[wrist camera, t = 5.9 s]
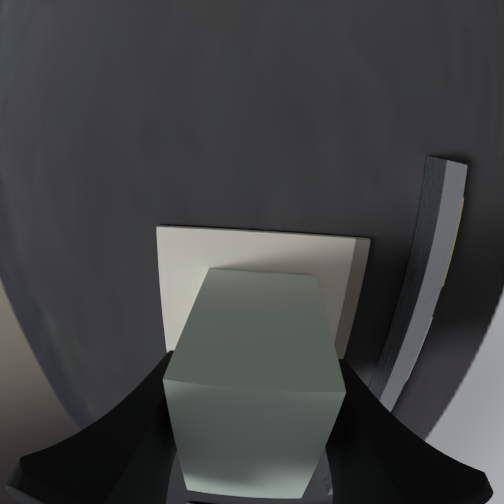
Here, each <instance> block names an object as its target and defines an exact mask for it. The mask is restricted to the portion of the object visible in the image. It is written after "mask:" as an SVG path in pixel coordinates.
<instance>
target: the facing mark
mask: <svg viewBox="0 0 504 504" xmlns="http://www.w3.org/2000/svg"><path fill="white" fill-rule="evenodd" d="M370 242H371V240H370V239H369V238H360V237H347V236H333V235H319V234H305V233H290V232H274V231H258V230H241V229H223V228H204V227H184V226H163V225H158V226H157V247H158V264H159V278H160V291H161V302H162V313H163V322H164V331H165V340H166V348H167V353H168V352H169V351H170V350H175V347H176V345H177V343H178V340H179V338H180V335H181V333H182V330H183V328H184V326H185V323H186V321H187V319H188V316H189V314H190V311H191V309H192V307H193V304H194V302H195V300H196V297H197V295H198V292H199V290H200V288H201V285H202V283H203V281H204V279H205V276H206V274H207V272H208V269H209V268H214V269H227V270H240V271H254V272H268V273H283V274H297V275H313V276H315V277H316V281H317V284H318V288H319V291H320V295H321V298H322V302H323V305H324V309H325V312H326V316H327V320H328V323H329V327H330V331H331V334H332V338H333V342H334V346H335V349H336V353H337V357H338V359H343V358H344V355H345V351H346V348H347V344H348V340H349V336H350V333H351V329H352V325H353V321H354V317H355V313H356V309H357V305H358V300H359V296H360V291H361V287H362V282H363V278H364V273H365V268H366V263H367V258H368V253H369V247H370Z"/></svg>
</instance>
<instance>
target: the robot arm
mask: <svg viewBox="0 0 504 504" xmlns="http://www.w3.org/2000/svg"><path fill="white" fill-rule="evenodd" d="M173 352H174V350H170V351H169V352H168V353H167V354H166V355H165V356H164V357H163V359H162V360H161V361H160V362H159V363H158V364H157V366H156V367H155V368H154V369H153V370H152V371H151V372H150V373H149V375H148V376H147V377H146V378H145V379H144V380H143V381H142V382H141V383H140V384H139V385H138V386H137V387H136V388H135V389H134V390H133V391H132V392H131V393H130V394H129V395H128V396H127V397H126V398H124V399H123V400H122V401H121V402H120V403H119V404H118V405H117V406H115V407H114V408H113V409H112V410H111V411H109V412H108V413H107V414H105V415H104V416H103V417H101V418H100V419H99V420H97V421H96V422H94V423H93V424H91V425H90V426H88V427H87V428H85V429H84V430H82V431H80V432H79V433H77V434H75V435H73V436H71V437H69V438H67V439H65V440H63V441H61V442H59V443H57V444H55V445H53V446H51V447H48V448H46V449H43V450H41V451H38V452H35V453H32V454H29V455H26V456H23V457H21V458H20V459H19V461H18V463H17V464H16V466H15V468H14V470H13V472H12V474H11V476H10V478H9V480H8V482H7V484H6V487H5V488H6V490H7V492H8V493H9V494H10V495H11V496H12V497H13V498H14V499H15V500H16V501H17V502H19V503H20V504H166V497H167V490H168V484H169V478H170V473H171V468H172V464H173V461H174V457H175V454H176V451H177V448H176V443H175V439H174V434H173V430H172V425H171V420H170V415H169V410H168V405H167V400H166V395H165V389H164V383H163V377H164V375H165V372H166V370H167V367H168V365H169V362H170V360H171V357H172V355H173ZM338 361H339V365H340V369H341V373H342V377H343V381H344V385H345V389H346V394H345V397H344V400H343V402H342V405H341V408H340V410H339V413H338V416H337V418H336V421H335V423H334V426H333V428H332V431H331V433H330V436H329V438H328V441H327V443H326V445H325V448H326V453H327V458H328V462H329V467H330V472H331V479H332V491H333V504H485V503H486V502H488V501H489V499H490V498H491V497H492V495H493V490H492V488H491V486H490V483H489V481H488V479H487V477H486V475H485V473H484V472H482V471H480V470H477V469H475V468H472V467H470V466H467V465H465V464H463V463H460V462H458V461H457V460H455V459H453V458H451V457H449V456H447V455H445V454H443V453H442V452H440V451H438V450H437V449H435V448H434V447H432V446H431V445H429V444H428V443H426V442H425V441H423V440H422V439H421V438H419V437H418V436H417V435H415V434H414V433H413V432H412V431H410V430H409V429H408V428H407V427H406V426H404V425H403V424H402V423H401V422H400V421H399V420H398V419H397V418H396V417H394V416H393V415H392V414H391V413H390V412H389V411H388V410H387V409H386V408H385V406H384V405H383V404H382V403H381V402H380V401H379V400H378V399H377V398H376V397H375V395H374V394H373V393H372V392H371V391H370V390H369V388H368V387H367V386H366V385H365V384H364V382H363V381H362V380H361V379H360V377H359V376H358V375H357V374H356V372H355V371H354V370H353V369H352V367H351V366H350V365H349V364H348V362H347V361H346V360H345V359H338ZM0 504H1V503H0ZM186 504H193V503H186Z"/></svg>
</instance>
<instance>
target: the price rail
mask: <svg viewBox="0 0 504 504" xmlns="http://www.w3.org/2000/svg"><path fill="white" fill-rule="evenodd" d="M467 166H468V165H465V164H461V163H457V162H453V161H449V160H445V159H440V158H435V157H431V156H427V157H426V166H425V174H424V181H423V188H422V195H421V201H420V207H419V213H418V218H417V223H416V229H415V234H414V238H413V243H412V248H411V252H410V257H409V261H408V265H407V269H406V273H405V277H404V281H403V285H402V289H401V292H400V296H399V300H398V303H397V306H396V310H395V313H394V317H393V320H392V323H391V326H390V329H389V332H388V336H387V339H386V342H385V345H384V347H383V350H382V353H381V356H380V359H379V362H378V364H377V367H376V370H375V372H374V375H373V378H372V380H371V383H370V385H369V390H370V391H371V392H372V393H373V394H374V395H375V397H376V398H377V399H378V400H379V401H380V402H381V403H382V404H383V405H384V406H385V408H386V409H387V410H388V411H389V412H391V410H392V408H393V406H394V405H395V403H396V401H397V399H398V396H399V394H400V392H401V390H402V388H403V386H404V384H405V382H406V381H407V380H408V378H409V376H410V373H411V371H412V369H413V367H414V364H415V362H416V360H417V357H418V355H419V353H420V350H421V348H422V345H423V343H424V340H425V338H426V335H427V332H428V330H429V327H430V324H431V321H432V319H433V317H432V315H433V312H434V309H435V306H436V303H437V300H438V297H439V294H440V291H441V287H443V285H444V282H445V279H446V275H447V272H448V268H449V264H450V261H451V257H452V253H453V249H454V245H455V241H456V236H457V232H458V227H459V223H460V218H461V213H462V208H463V202H464V197H463V194H464V188H465V181H466V174H467ZM326 486H327V493H328V495H331V494H333V491H332V479H331V472H329V473H328V475H327V477H326Z"/></svg>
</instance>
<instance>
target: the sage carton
mask: <svg viewBox="0 0 504 504" xmlns="http://www.w3.org/2000/svg"><path fill="white" fill-rule="evenodd" d="M163 383H164V389H165V395H166V400H167V405H168V410H169V415H170V420H171V425H172V430H173V434H174V439H175V443H176V448H177V452H178V456H179V460H180V464H181V468H182V472H183V476H184V480H185V483H186V487H187V490H192V491H198V492H205V493H213V494H221V495H231V496H242V497H258V498H301V497H302V495H303V493H304V491H305V489H306V487H307V485H308V483H309V481H310V479H311V477H312V474H313V472H314V470H315V468H316V466H317V464H318V461H319V459H320V457H321V455H322V452H323V450H324V448H325V445H326V443H327V441H328V438H329V436H330V433H331V431H332V428H333V426H334V423H335V421H336V418H337V416H338V413H339V410H340V408H341V405H342V402H343V400H344V397H345V394H346V389H345V385H344V381H343V377H342V373H341V369H340V365H339V361H338V357H337V353H336V349H335V346H334V342H333V338H332V334H331V331H330V327H329V323H328V320H327V316H326V312H325V309H324V305H323V302H322V298H321V295H320V291H319V288H318V284H317V281H316V277H315V276H313V275H297V274H283V273H268V272H254V271H240V270H227V269H214V268H209V269H208V272H207V274H206V276H205V279H204V281H203V283H202V285H201V288H200V290H199V292H198V295H197V297H196V300H195V302H194V304H193V307H192V309H191V311H190V314H189V316H188V319H187V321H186V323H185V326H184V328H183V330H182V333H181V335H180V338H179V340H178V343H177V345H176V347H175V350H174V352H173V355H172V357H171V360H170V362H169V365H168V367H167V370H166V372H165V375H164V377H163Z"/></svg>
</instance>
